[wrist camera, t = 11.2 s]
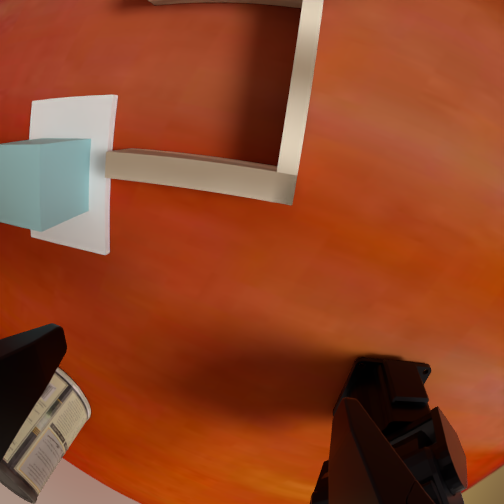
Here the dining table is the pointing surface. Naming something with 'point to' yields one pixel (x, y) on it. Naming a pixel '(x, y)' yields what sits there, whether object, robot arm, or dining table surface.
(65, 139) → the teal cube
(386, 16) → the dining table surface
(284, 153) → the birch cubby
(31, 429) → the coffee can
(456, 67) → the dining table surface
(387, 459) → the robot arm
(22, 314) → the dining table surface
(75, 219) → the white flat slab
